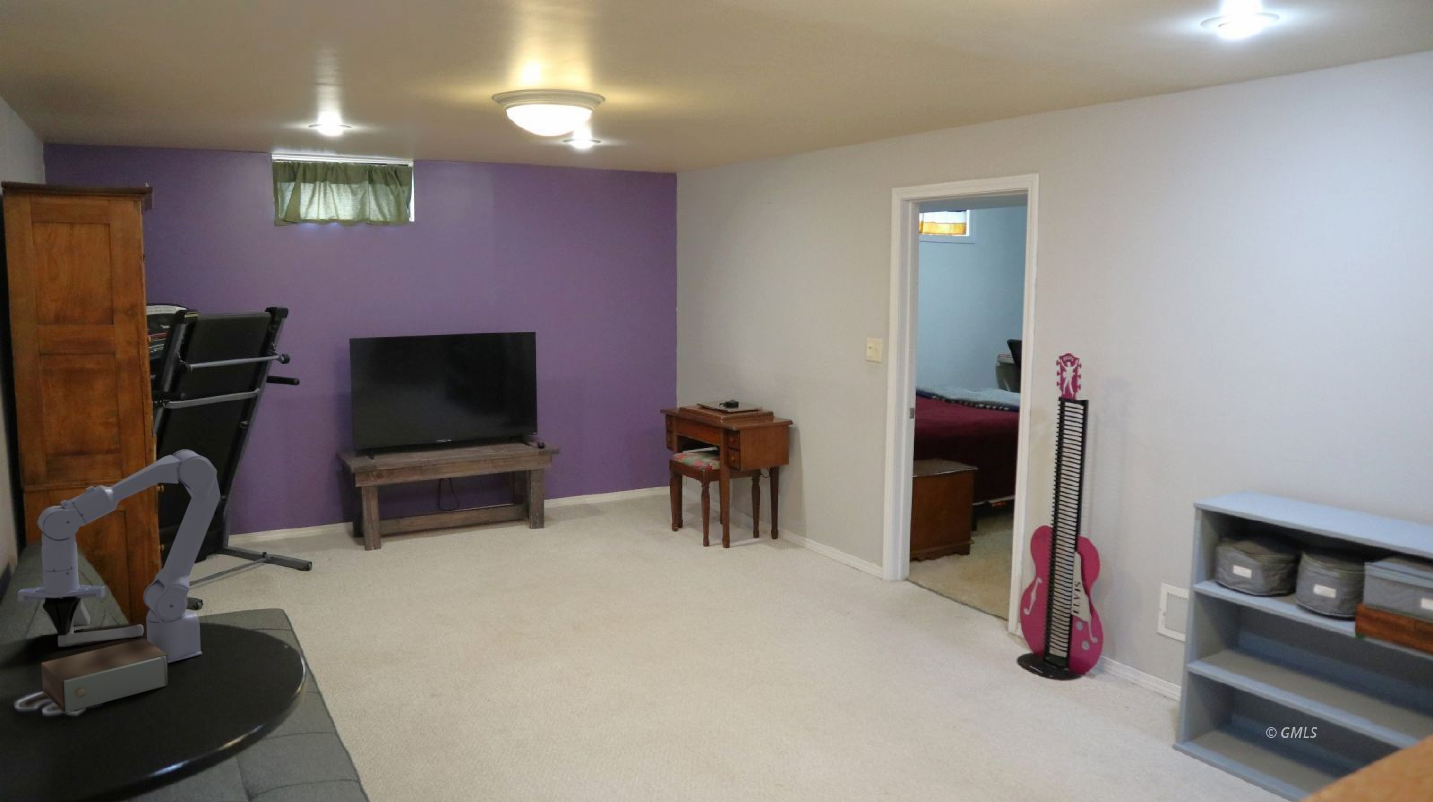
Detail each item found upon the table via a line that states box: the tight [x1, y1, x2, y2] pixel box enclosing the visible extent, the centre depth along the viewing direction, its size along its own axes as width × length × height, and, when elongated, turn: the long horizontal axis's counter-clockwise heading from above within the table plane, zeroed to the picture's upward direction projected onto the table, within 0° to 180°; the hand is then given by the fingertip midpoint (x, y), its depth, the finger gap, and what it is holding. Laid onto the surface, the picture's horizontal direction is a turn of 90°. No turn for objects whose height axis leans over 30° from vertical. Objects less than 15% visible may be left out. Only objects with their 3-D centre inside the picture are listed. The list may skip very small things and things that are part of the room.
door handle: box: [43, 599, 145, 648], centre depth 213 cm, size 18×8×20 cm
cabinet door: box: [64, 656, 168, 713], centre depth 183 cm, size 17×2×6 cm, turn 139°
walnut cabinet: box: [41, 638, 169, 713], centre depth 188 cm, size 18×12×6 cm, turn 140°
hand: (64, 633), depth 191 cm, fingers closed
